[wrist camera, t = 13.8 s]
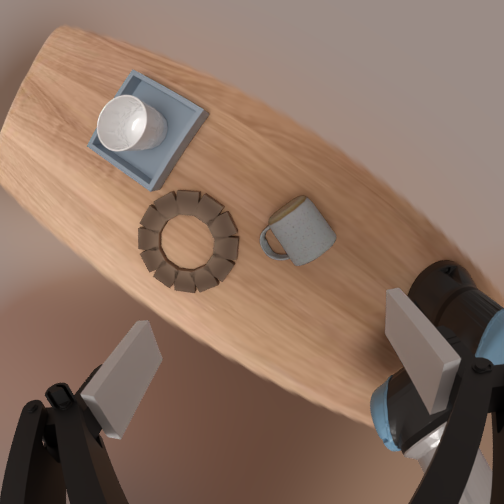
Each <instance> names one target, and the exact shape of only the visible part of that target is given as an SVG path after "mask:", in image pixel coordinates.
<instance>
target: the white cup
mask: <svg viewBox="0 0 504 504" xmlns="http://www.w3.org/2000/svg"><path fill="white" fill-rule="evenodd" d="M167 130H168V126H167V120H166V119H165V117H164V116H163V115H162V113H160V112H158V111H157V110H156V109H155V108H153V107H152V106H150V105H149V104H147V103H145V102H143V101H142V100H140V99H138V98H137V97H135V96H132V95H121V96H118V97H116V98H114V99H112V100H111V101H109V102H108V103H107V104H106V105H105V107H104V108H103V109H102V111H101V113H100V115H99V118H98V122H97V134H98V137H99V140H100V142H101V143H102V144H103V146H105V147H106V148H107V149H109V150H112V151H139V150H146V149H153V148H155V147H157V146H159V145H160V144H161V143H162V141H163V140H164V139H165V137H166V134H167Z"/></svg>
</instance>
